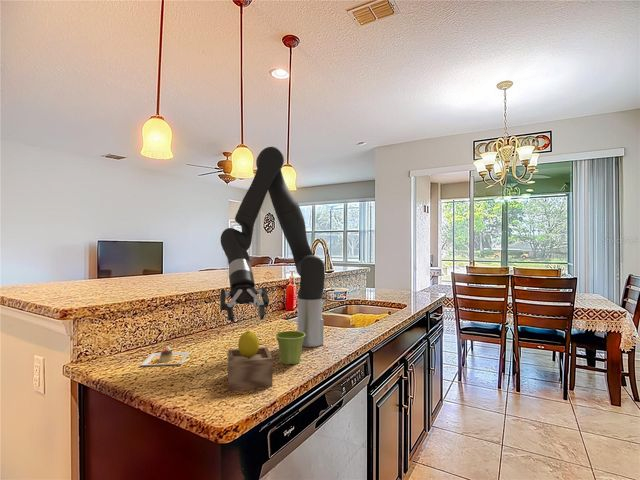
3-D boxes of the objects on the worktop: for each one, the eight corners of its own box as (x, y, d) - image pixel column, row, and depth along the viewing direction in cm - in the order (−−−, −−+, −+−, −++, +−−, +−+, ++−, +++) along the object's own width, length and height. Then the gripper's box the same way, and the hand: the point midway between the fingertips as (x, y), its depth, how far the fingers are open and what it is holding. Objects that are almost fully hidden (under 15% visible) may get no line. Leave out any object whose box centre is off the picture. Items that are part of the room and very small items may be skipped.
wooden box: (266, 372, 101) (266, 346, 102) (272, 387, 91) (272, 358, 91) (227, 376, 98) (228, 349, 98) (229, 392, 88) (229, 362, 88)
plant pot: (293, 369, 104) (293, 340, 104) (269, 363, 109) (269, 335, 109) (310, 360, 112) (311, 333, 112) (287, 355, 117) (287, 329, 117)
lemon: (242, 353, 98) (241, 326, 96) (261, 353, 97) (260, 326, 96) (236, 363, 92) (235, 335, 91) (256, 364, 92) (255, 335, 91)
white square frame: (139, 369, 104) (140, 353, 104) (152, 356, 116) (152, 342, 116) (181, 367, 106) (182, 351, 106) (189, 354, 118) (190, 340, 118)
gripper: (218, 269, 106) (223, 313, 95) (264, 268, 111) (273, 310, 100) (217, 284, 111) (220, 328, 100) (261, 282, 116) (269, 324, 105)
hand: (247, 319), depth 100 cm, fingers open, 8 cm apart
